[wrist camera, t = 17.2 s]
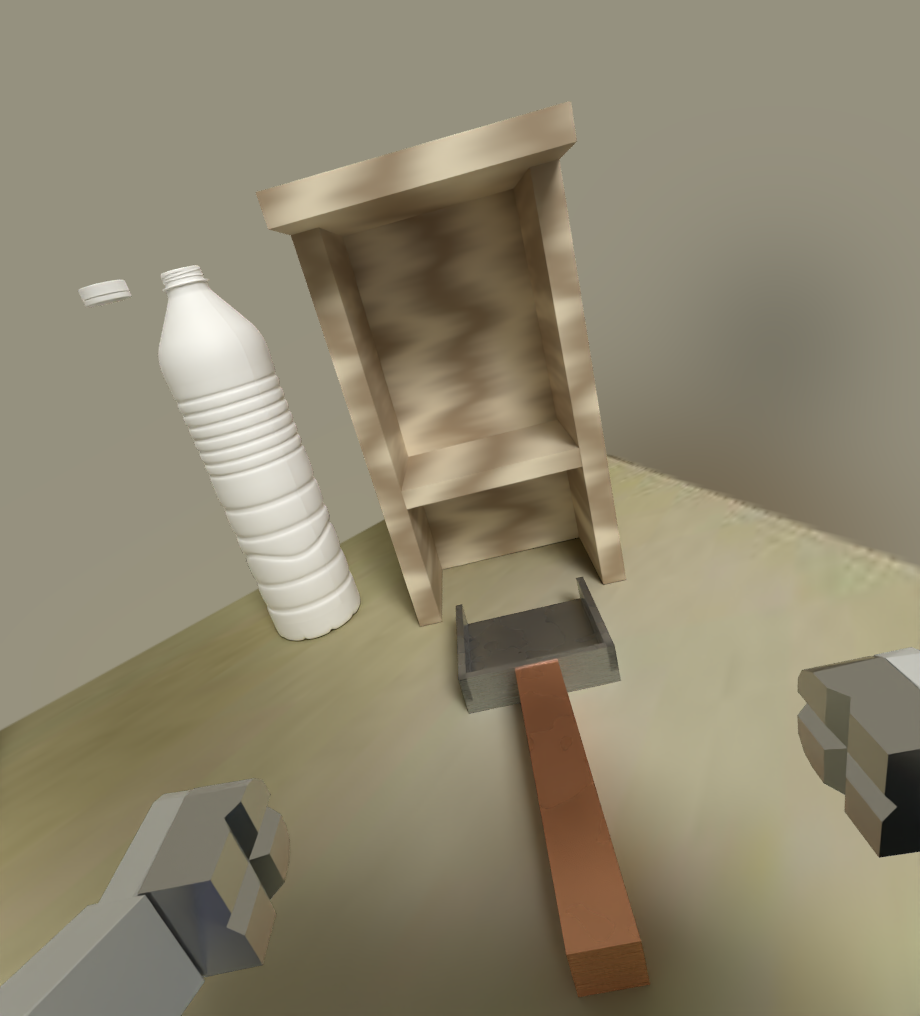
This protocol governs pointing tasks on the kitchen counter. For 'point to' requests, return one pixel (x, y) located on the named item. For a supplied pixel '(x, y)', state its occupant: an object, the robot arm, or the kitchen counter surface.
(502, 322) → the stand
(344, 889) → the kitchen counter surface
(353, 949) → the kitchen counter surface
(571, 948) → the shovel
